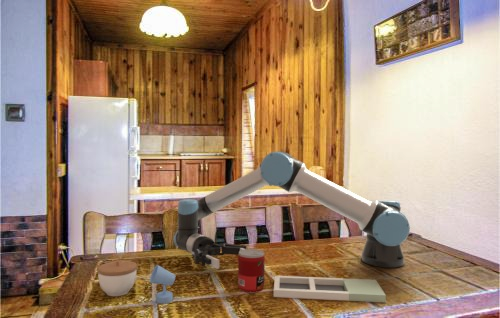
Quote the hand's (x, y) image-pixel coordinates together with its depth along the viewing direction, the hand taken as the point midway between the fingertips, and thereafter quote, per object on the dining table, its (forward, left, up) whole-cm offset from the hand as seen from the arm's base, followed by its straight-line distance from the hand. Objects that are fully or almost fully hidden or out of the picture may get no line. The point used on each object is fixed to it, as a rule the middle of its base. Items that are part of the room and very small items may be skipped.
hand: (236, 260), depth 117 cm
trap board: (-28, +5, -7) cm, 29 cm away
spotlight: (+18, +17, -7) cm, 26 cm away
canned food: (-5, +5, -7) cm, 10 cm away
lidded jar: (+33, +13, -7) cm, 36 cm away
